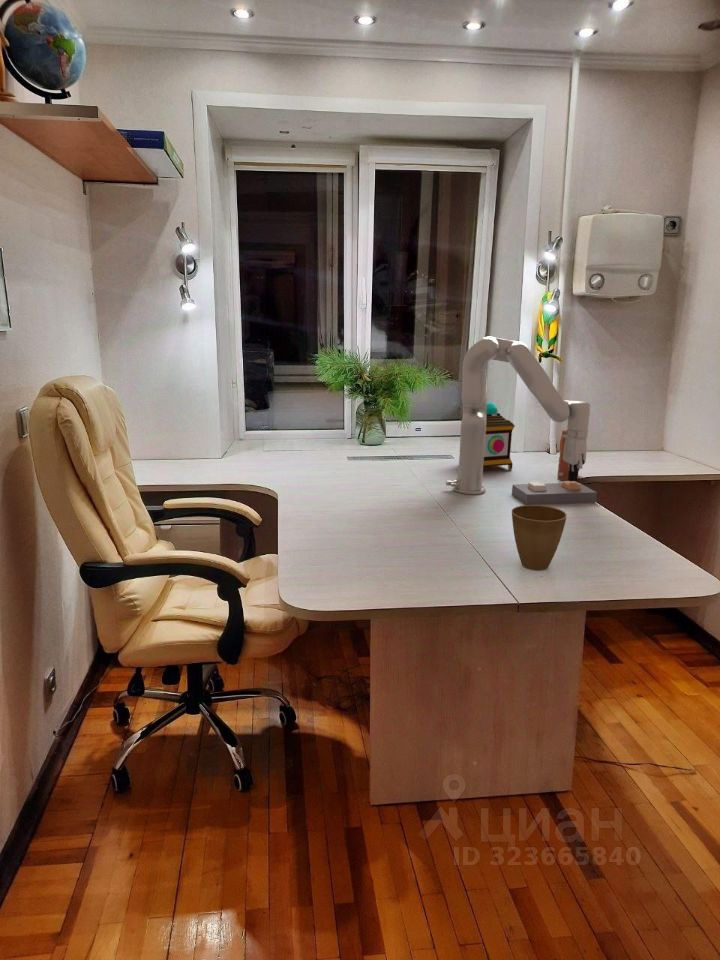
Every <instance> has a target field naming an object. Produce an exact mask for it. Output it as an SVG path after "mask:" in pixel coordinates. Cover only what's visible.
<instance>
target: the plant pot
mask: <svg viewBox="0 0 720 960" xmlns="http://www.w3.org/2000/svg"><path fill="white" fill-rule="evenodd" d="M567 516H568V515H567V513H566V511H564V510H562V509H560V508H555V507H552V506H546V505H541V504H537V505H526V504H525V505H519V506H516V507H514V508H512V509H511V519H512V530H513V536H514V541H515V546H516V550H517V553H518V557H519V560H520V563H521V566H522V567H523V568H525V569H528V570H532V571H544V570H547V569H548V568H549V566H550V565H551V562H552V561H553V559H554V557H555V554H556V551H557V550H558V548H559V544H560V542H561V538H562V535H563V533H564V528H565V525H566V521H567Z"/></svg>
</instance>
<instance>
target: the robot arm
mask: <svg viewBox="0 0 720 960" xmlns="http://www.w3.org/2000/svg"><path fill="white" fill-rule="evenodd" d="M491 360H494V361H497V362H498V361H499V362H503V363H504V362H505V363H509V364H510V365H511V367H512V368H513V369H514V371H515V373H517V375H518V376H519V378H520V379H521V381H522V382H523V383H524V384H525V386H526V387H527V389H528V390H529V392H530V393H531V394H532V395H533V396H534V397H535V398H536V400H537V402H538V403H539V404H540V406H541V407H542V408H543V409H544V411H545V413H546V414H547V415H548V417H549V418H550V419H551V420H552V421H553V422H555V423H563V422H565V421H566V420H567V425H566V426H567V427H566V428H567V436H566V439H565V444H564V450H563V460H564V461H565V462H567V464H568V470H569V473H568V480H569V481H575V482H578V480H579V472H580V470H581V469H583V466H584V465H585V464H586V460H587V447H588V446H587V439H588V432H589V423H590V412H591V404H590V402H588V401H585V400H566V399H564V398H563V397H562V396H561V394H560V393H559V391H558V390H557V389H556V386H555V385H554V384H553V382H552V381H551V379H550V377H549V374H548V373H547V372H546V370H545V369H544V368H543V366H542V364H540V362H539V361H538V360H537V358H536V357H535V355H534V354H533V352H532V350H531V349H530V348H529V347H528V345H527V344H525V343H524V342H523V341H516V340H509V339H506V338H499V337H495V336H484V337H482V338H481V339H479V341H477V342H475V343H474V344H472V345H471V347H470V348H468V350H467V352H466V354H465V355H464V357H463V362H462V376H461V379H462V380H461V381H462V386H461V387H462V388H461V389H462V391H461V401H462V419H461V422H460V432H459V433H460V437H459V438H460V439H459V441H460V442H459V460H458V473H457V474H458V476H457V477H455V479H453V480H446V481H445V486H449V487H453V491H454V492H456V493H459V494H464V495H480V494H481V495H482V494H484V493H485V492H486V487H485V486H484V485H483V474H484V467H483V461H484V447H485V434H486V421H487V415H486V410H487V403H488V402H487V401H488V400H487V396H488V395H487V393H488V392H487V389H486V383H485V381H486V379H485V378H486V365H487V363H489V361H491Z"/></svg>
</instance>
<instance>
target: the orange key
mask: <svg viewBox="0 0 720 960" xmlns="http://www.w3.org/2000/svg"><path fill="white" fill-rule="evenodd" d="M561 483H562V487H563V488H565V489H566V490H580V487H581V484H582V483H581V484H579V483H580V482H578V481H567V480H562V482H561Z"/></svg>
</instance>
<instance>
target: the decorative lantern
mask: <svg viewBox="0 0 720 960" xmlns="http://www.w3.org/2000/svg"><path fill="white" fill-rule="evenodd" d="M486 415H487V421H486V434H485V447H484V461H483V468H485V467H486V468H488V467H498V466H499V467H500V466H501V467H502V466H507V469H508V471H512V470H513V462H512V459H511V447H512V435H513V430H514V428H515V427H516V425H515V424H514V423H513V422H512V421H511V420H510V419H507V418H505V417H503V416H502V415H501V413H499V412H498V407H497V406H496V405H495V403H493V402H490V401H489V402H487V410H486Z"/></svg>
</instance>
